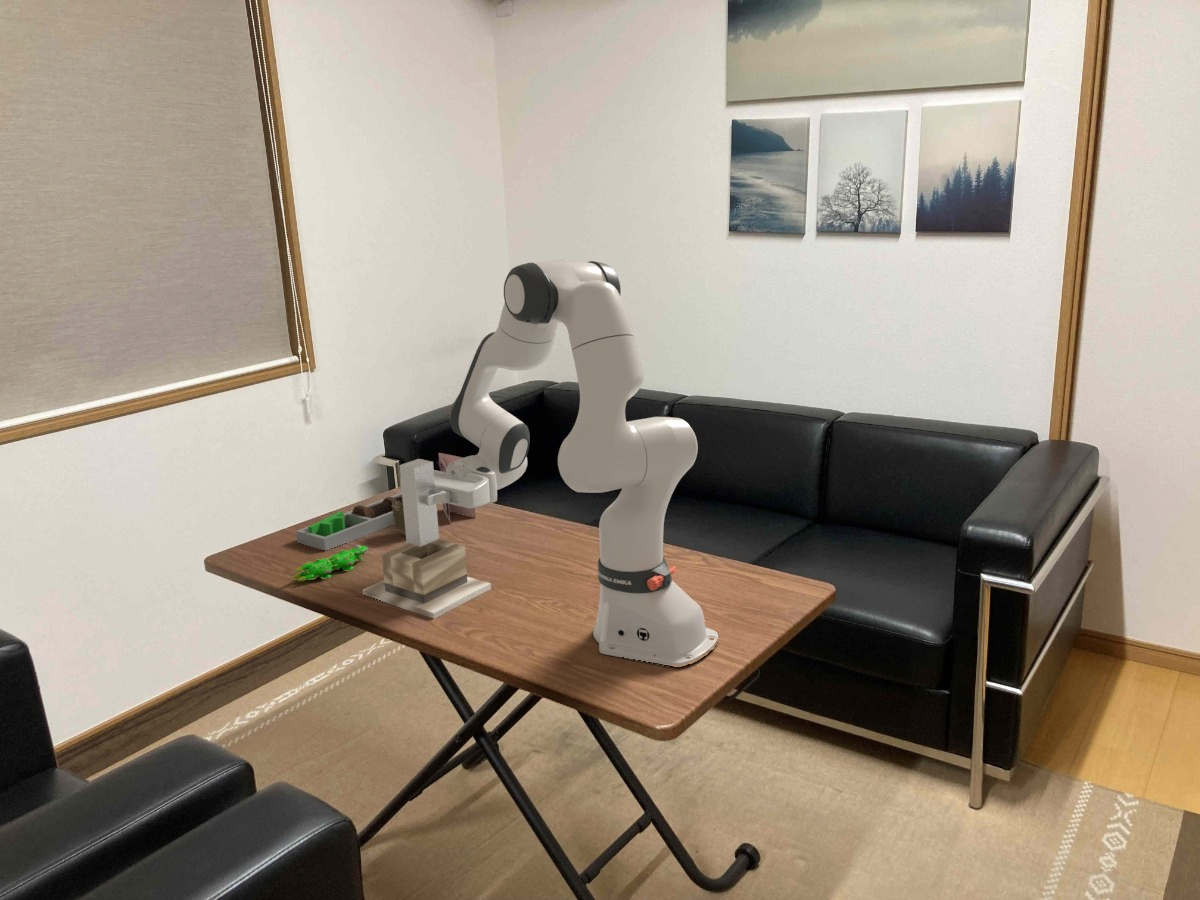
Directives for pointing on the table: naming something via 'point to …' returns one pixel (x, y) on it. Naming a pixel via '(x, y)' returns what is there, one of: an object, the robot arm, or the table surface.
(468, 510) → the greeting card
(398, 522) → the cup
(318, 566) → the crocodile figurine
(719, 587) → the table surface
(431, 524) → the grey rectangular bar
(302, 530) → the parts tray
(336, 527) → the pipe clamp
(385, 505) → the bolt
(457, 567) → the square socket base
